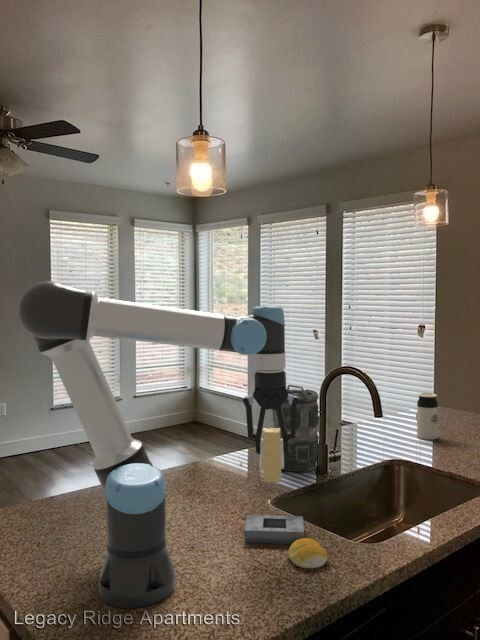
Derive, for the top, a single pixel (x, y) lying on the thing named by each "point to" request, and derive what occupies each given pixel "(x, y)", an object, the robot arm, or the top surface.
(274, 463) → the brass peg
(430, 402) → the travel mug
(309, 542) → the bread roll
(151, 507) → the robot arm
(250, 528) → the grey slotted block
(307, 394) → the canister
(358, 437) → the top surface
